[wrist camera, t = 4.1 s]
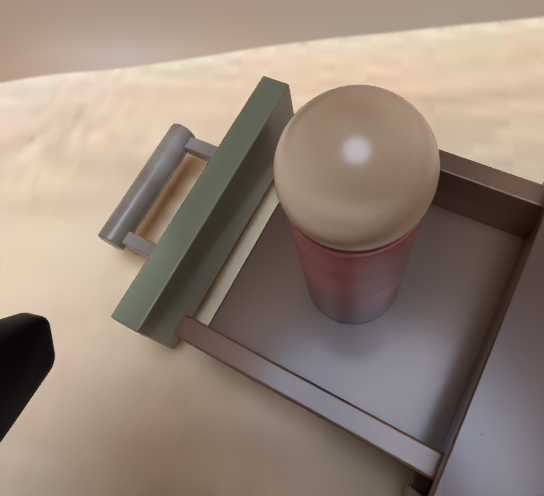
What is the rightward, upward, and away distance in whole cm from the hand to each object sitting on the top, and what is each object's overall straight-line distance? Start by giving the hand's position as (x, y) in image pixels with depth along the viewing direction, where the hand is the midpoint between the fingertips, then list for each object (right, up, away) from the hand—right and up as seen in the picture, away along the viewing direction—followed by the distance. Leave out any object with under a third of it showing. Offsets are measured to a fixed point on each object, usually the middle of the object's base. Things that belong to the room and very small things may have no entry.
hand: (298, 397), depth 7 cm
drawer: (+1, +2, +12) cm, 12 cm away
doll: (+3, +1, +11) cm, 11 cm away
